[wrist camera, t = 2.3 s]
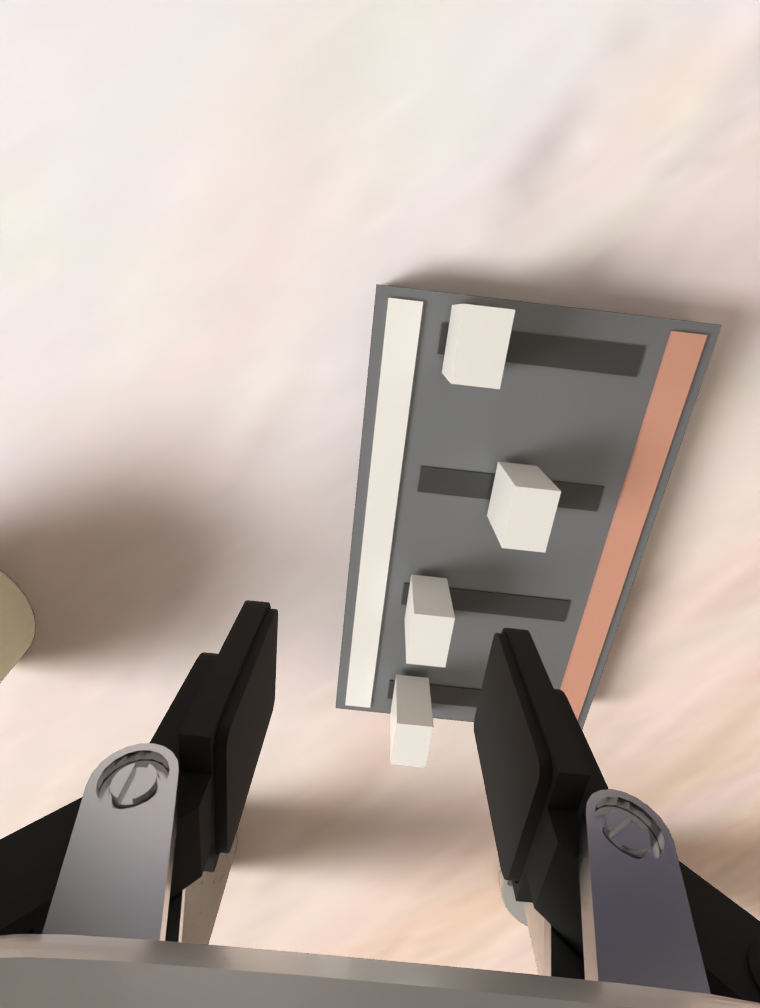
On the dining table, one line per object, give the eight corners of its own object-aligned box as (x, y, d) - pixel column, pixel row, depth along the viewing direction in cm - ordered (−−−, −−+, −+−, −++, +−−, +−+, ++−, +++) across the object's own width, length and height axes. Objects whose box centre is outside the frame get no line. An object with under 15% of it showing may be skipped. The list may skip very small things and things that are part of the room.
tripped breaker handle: (537, 465, 25) (561, 491, 21) (524, 519, 26) (545, 552, 22) (498, 461, 25) (515, 486, 21) (486, 515, 26) (501, 548, 22)
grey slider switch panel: (690, 323, 25) (790, 327, 19) (568, 704, 34) (607, 792, 28) (378, 286, 25) (373, 278, 18) (339, 680, 34) (327, 764, 27)
